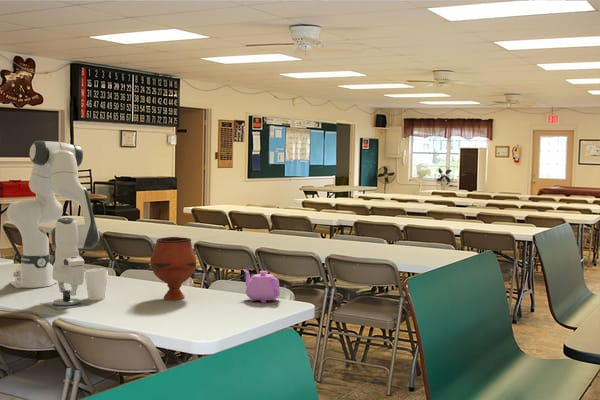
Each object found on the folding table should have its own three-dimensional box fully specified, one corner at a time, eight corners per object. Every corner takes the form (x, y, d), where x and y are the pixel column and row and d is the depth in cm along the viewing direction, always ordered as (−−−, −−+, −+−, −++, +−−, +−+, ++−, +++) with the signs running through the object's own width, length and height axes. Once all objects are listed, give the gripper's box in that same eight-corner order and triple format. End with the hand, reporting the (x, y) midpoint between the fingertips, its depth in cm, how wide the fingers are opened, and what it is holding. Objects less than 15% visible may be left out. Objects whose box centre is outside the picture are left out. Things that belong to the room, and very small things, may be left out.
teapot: (232, 299, 291) (232, 270, 291) (255, 294, 302) (255, 266, 302) (268, 306, 279) (268, 275, 278) (290, 300, 290) (291, 271, 289)
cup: (101, 301, 284) (101, 272, 284) (81, 300, 286) (81, 271, 285) (112, 297, 293) (111, 268, 292) (92, 296, 295) (91, 268, 294)
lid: (49, 303, 279) (48, 290, 278) (72, 300, 286) (72, 287, 285) (60, 307, 271) (60, 294, 271) (84, 303, 278) (84, 290, 278)
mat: (39, 304, 278) (39, 303, 278) (73, 299, 288) (73, 298, 288) (57, 310, 266) (57, 310, 266) (91, 305, 276) (91, 305, 276)
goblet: (165, 292, 305) (165, 235, 304) (205, 295, 299) (205, 237, 297) (141, 300, 287) (141, 240, 286) (183, 304, 281) (182, 242, 279)
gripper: (48, 257, 283) (48, 291, 283) (71, 262, 268) (71, 298, 269) (63, 255, 287) (63, 289, 288) (86, 260, 272) (87, 296, 273)
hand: (67, 293), depth 278 cm, fingers open, 8 cm apart
